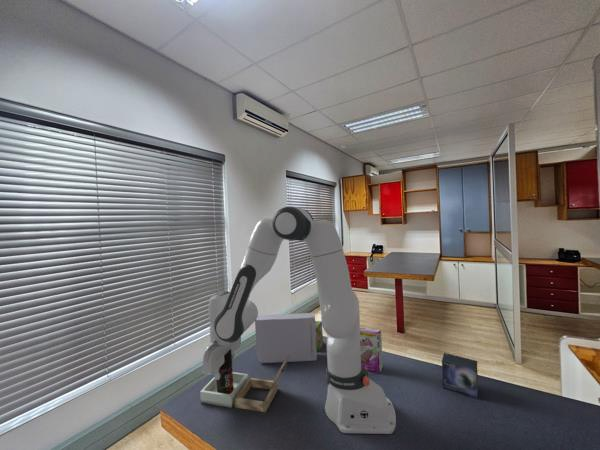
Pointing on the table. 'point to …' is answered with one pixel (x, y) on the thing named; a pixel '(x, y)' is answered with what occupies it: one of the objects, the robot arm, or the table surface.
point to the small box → (460, 375)
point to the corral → (254, 404)
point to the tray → (220, 399)
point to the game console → (286, 337)
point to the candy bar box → (371, 349)
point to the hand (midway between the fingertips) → (224, 371)
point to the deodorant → (226, 375)
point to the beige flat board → (277, 378)
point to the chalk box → (319, 335)
